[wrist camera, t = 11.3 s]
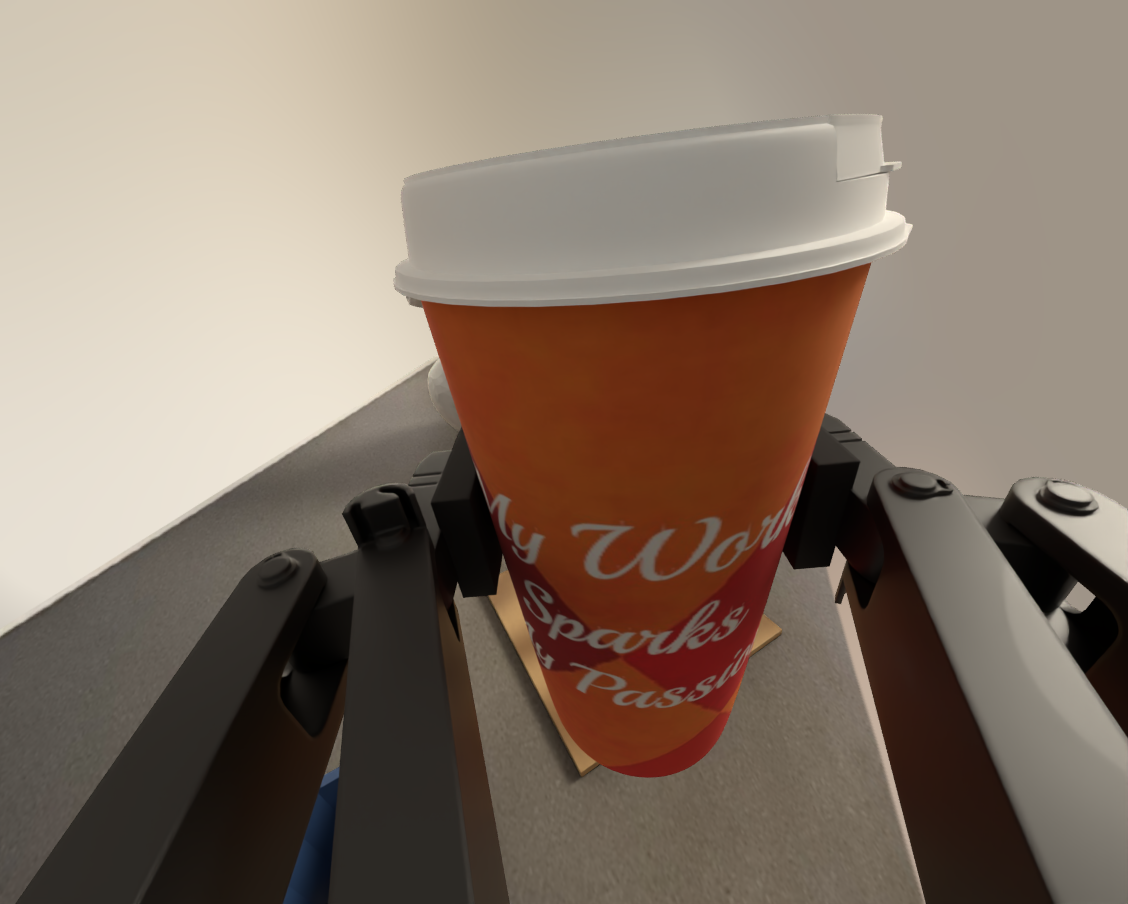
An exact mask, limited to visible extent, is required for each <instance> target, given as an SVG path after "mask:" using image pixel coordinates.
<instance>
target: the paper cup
mask: <svg viewBox="0 0 1128 904" xmlns="http://www.w3.org/2000/svg"><path fill="white" fill-rule="evenodd" d="M882 118H883V117H882V116H880V115H876V114H836V115H834V114H833V115H825V116H813V117H802V118H791V119H781V120H770V121H761V122H751V123H742V124H733V125H724V126H714V127H706V128H699V129H690V130H682V131H674V132H666V133H658V134H650V135H643V136H636V137H628V138H621V139H614V140H606V141H599V142H592V143H585V144H578V145H572V146H565V147H558V148H553V149H545V150H539V151H533V152H526V153H520V154H515V155H508V156H503V157H496V158H491V159H485V160H480V161H475V162H469V163H464V164H458V165H453V166H449V167H444V168H440V169H435V170H430V171H426V172H423V173H419V174H415V175H412V176H409V177H407V178H405V179H404V183H405V185H404V186H403V188H402V190H401V202H402V211H403V218H404V226H405V233H406V241H407V249H408V256H409V258H408V259H406V260H404V261H402V262H401V263H399V264H398V265H397V266H396V270H395V273H396V277H395V279H394V287H395V290H397V291H398V292H399V293H401V294H402V295H404V296H407V297H411V298H414V299H418V300H421V302H422V306H423V309H424V312H425V315H426V318H427V321H428V324H429V327H430V330H431V333H432V336H433V339H434V342H435V346H436V349H437V352H438V355H439V358H440V361H441V364H442V367H443V370H444V373H445V376H446V380H447V383H448V386H449V389H450V392H451V395H452V398H453V401H454V404H455V407H456V410H457V413H458V417H459V420H460V423H461V426H462V429H463V432H464V435H465V438H466V441H467V444H468V447H469V451H470V454H471V457H472V460H473V463H474V466H475V469H476V472H477V475H478V478H479V481H480V485H481V488H482V491H483V494H484V497H485V500H486V503H487V506H488V509H489V512H490V515H491V519H492V522H493V525H494V528H495V531H496V534H497V537H498V540H499V543H500V546H501V550H502V553H503V556H504V559H505V562H506V565H507V568H508V571H509V574H510V577H511V580H512V583H513V586H514V589H515V592H516V595H517V599H518V602H519V605H520V608H521V611H522V614H523V617H524V620H525V623H526V626H527V629H528V632H529V635H530V638H531V641H532V644H533V647H534V650H535V653H536V656H537V659H538V662H539V665H540V668H541V671H542V674H543V677H544V680H545V682H546V685H547V688H548V691H549V693H550V696H551V699H552V701H553V704H554V707H555V709H556V711H557V714H558V716H559V718H560V720H561V722H562V724H563V726H564V728H565V729H566V731H567V732H568V734H569V735H570V737H571V738H572V739H573V741H574V742H575V743H576V744H577V745H578V746H579V748H580V749H581V750H582V751H584V752H585V753H586V754H587V755H588V756H589V757H591V758H592V759H593V760H595V761H596V762H598V763H599V764H601V765H603V766H605V767H607V768H609V769H611V770H613V771H616V772H619V773H622V774H625V775H630V776H636V777H647V778H648V777H662V776H667V775H671V774H674V773H677V772H680V771H682V770H685V769H687V768H689V767H690V766H692V765H694V764H695V763H697V762H698V761H699V760H700V759H702V758H703V757H704V756H705V755H706V754H707V753H708V752H709V751H710V750H711V748H712V747H713V746H714V745H715V743H716V742H717V740H718V739H719V737H720V735H721V733H722V731H723V730H724V727H725V725H726V723H727V720H728V718H729V715H730V713H731V710H732V707H733V704H734V702H735V699H736V696H737V693H738V690H739V687H740V684H741V681H742V678H743V675H744V672H745V669H746V665H747V662H748V659H749V656H750V653H751V650H752V647H753V644H754V641H755V637H756V634H757V631H758V628H759V625H760V621H761V618H762V615H763V612H764V609H765V605H766V602H767V599H768V596H769V593H770V589H771V586H772V583H773V580H774V577H775V573H776V570H777V567H778V564H779V560H780V557H781V554H782V551H783V547H784V544H785V541H786V538H787V534H788V531H789V528H790V525H791V521H792V518H793V515H794V512H795V508H796V505H797V502H798V499H799V495H800V492H801V489H802V486H803V482H804V479H805V476H806V473H807V469H808V466H809V463H810V460H811V456H812V453H813V450H814V447H815V443H816V440H817V437H818V434H819V431H820V427H821V424H822V421H823V418H824V414H825V411H826V408H827V405H828V401H829V398H830V395H831V392H832V388H833V385H834V382H835V379H836V375H837V372H838V369H839V366H840V363H841V359H842V356H843V352H844V349H845V346H846V343H847V340H848V337H849V333H850V330H851V326H852V323H853V320H854V317H855V314H856V310H857V307H858V304H859V301H860V298H861V294H862V291H863V288H864V285H865V281H866V278H867V275H868V272H869V268H870V265H871V262H873V261H876V260H878V259H881V258H883V257H885V256H888V255H891V254H893V253H895V252H896V251H898V250H899V249H901V248H902V247H903V246H905V245H906V243H907V239H908V235H909V234H910V232H911V230H912V227H913V225H911V224H907V223H906V221H905V217H904V216H902V215H901V214H899V213H898V212H893V211H889V210H886V203H887V193H888V184H889V173H890V171H894V170H897V169H900V168H901V166H902V162H884V156H883V146H882V136H881V123H882Z"/></svg>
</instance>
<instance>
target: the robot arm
mask: <svg viewBox="0 0 1128 904" xmlns="http://www.w3.org/2000/svg"><path fill="white" fill-rule="evenodd" d="M342 515H343V517H344V519H345V521H346V523H347V525H348V527H349V529H350V531H351V533H352V535H353V537H354V539H355V541H356V543H357V545H358V550H355V551H353V552H350V553H347V554H344V555H341V556H338V557H334V558H331V559H328V560H325V561H322V562H319V561H318V559H317V557H316V556H315V554H314V552H313V551H311V550H309V549H307V548H291V549H288V550H284V551H280V552H278V553H275V554H273V555H271V556H269V557H267V558H265V559H264V560H262V561H261V562H259V563H258V564H257V565H255V566H254V567H252V568H251V569H250V570H249V572H248V573H247V574H246V575H245V576H244V577H243V578H242V579H241V581H240V582H239V584H238V585H237V587H236V588H235V589H234V591H233V592H232V594H231V595H230V597H229V598H228V599H227V601H226V602H225V604H224V605H223V607H222V608H221V609H220V611H219V612H218V614H217V615H216V617H215V618H214V620H213V621H212V622H211V624H210V625H209V627H208V628H207V630H206V631H205V632H204V634H203V635H202V637H201V638H200V640H199V641H198V642H197V644H196V645H195V647H194V648H193V650H192V651H191V653H190V654H189V655H188V657H187V658H186V660H185V661H184V663H183V664H182V665H181V667H180V668H179V670H178V671H177V673H176V674H175V675H174V677H173V678H172V680H171V681H170V683H169V684H168V686H167V687H166V688H165V690H164V691H163V693H162V694H161V696H160V697H159V698H158V700H157V701H156V703H155V704H154V706H153V707H152V708H151V710H150V711H149V713H148V714H147V716H146V717H145V719H144V720H143V721H142V723H141V724H140V726H139V727H138V729H137V730H136V731H135V733H134V734H133V736H132V737H131V739H130V740H129V741H128V743H127V744H126V746H125V747H124V749H123V750H122V752H121V753H120V754H119V756H118V757H117V759H116V760H115V762H114V763H113V764H112V766H111V767H110V769H109V770H108V772H107V773H106V774H105V776H104V777H103V779H102V780H101V782H100V783H99V785H98V786H97V787H96V789H95V790H94V792H93V793H92V795H91V796H90V797H89V799H88V800H87V802H86V803H85V805H84V806H83V807H82V809H81V810H80V812H79V813H78V815H77V816H76V818H75V819H74V820H73V822H72V823H71V825H70V826H69V828H68V829H67V830H66V832H65V833H64V835H63V836H62V838H61V839H60V841H59V842H58V843H57V845H56V846H55V848H54V849H53V851H52V852H51V853H50V855H49V856H48V858H47V859H46V861H45V862H44V863H43V865H42V866H41V868H40V869H39V871H38V872H37V874H36V875H35V876H34V878H33V879H32V881H31V882H30V884H29V885H28V886H27V888H26V889H25V891H24V892H23V894H22V895H21V896H20V898H19V899H18V901H17V902H16V904H283V902H284V899H285V896H286V893H287V889H288V886H289V883H290V880H291V877H292V874H293V871H294V868H295V864H296V861H297V858H298V855H299V852H300V849H301V846H302V843H303V840H304V836H305V833H306V830H307V827H308V824H309V821H310V818H311V815H312V811H313V808H314V805H315V802H316V799H317V796H318V793H319V790H320V786H321V783H322V780H323V777H324V774H325V771H326V768H327V765H328V762H329V758H330V755H331V752H332V749H333V746H334V743H335V740H336V737H337V733H338V730H339V727H340V724H341V721H342V718H343V715H344V720H343V732H342V744H341V756H340V767H339V779H338V791H337V803H336V815H335V826H334V838H333V850H332V862H331V874H330V885H329V897H328V904H510V902H509V897H508V891H507V885H506V880H505V874H504V868H503V863H502V857H501V852H500V846H499V840H498V835H497V829H496V823H495V818H494V812H493V806H492V801H491V795H490V789H489V784H488V778H487V772H486V767H485V761H484V756H483V750H482V744H481V739H480V733H479V727H478V722H477V716H476V710H475V705H474V699H473V693H472V688H471V682H470V676H469V671H468V665H467V659H466V654H465V648H464V643H463V637H462V631H461V626H460V620H459V614H458V610H457V607H456V605H455V602H454V599H453V597H454V594H455V590H456V586H457V582H458V584H459V587H460V590H461V592H462V595H463V598H465V597H477V596H489V595H496V594H497V587H498V581H499V574H500V568H501V561H502V554H503V553H502V550H501V546H500V543H499V540H498V537H497V534H496V531H495V528H494V525H493V522H492V519H491V515H490V512H489V509H488V506H487V503H486V500H485V497H484V494H483V491H482V488H481V485H480V481H479V478H478V475H477V472H476V469H475V466H474V463H473V460H472V457H471V454H470V451H469V447H468V444H467V441H466V438H465V435H464V432H463V429H462V426H461V428H460V431H459V433H458V436H457V438H456V441H455V443H454V446H453V448H452V450H446V451H437V452H431V453H430V454H429V455H428V456H427V457H425V458H424V459H423V460H422V461H421V462H420V463H419V464H418V466H417V468H416V470H415V472H414V474H413V478H411V480H410V482H409V484H408V485H406V484H404V483H388V484H383V485H378V486H376V487H373V488H370V489H368V490H366V491H364V492H362V493H361V494H359V495H357V496H356V497H354V498H353V499H352V500H351V501H350V502H349V503H348V504H347V505H346V507H345V509H344V511H343V513H342ZM835 546H836V547H837V548H838V549H839V550H840V551H841V553H842V554H843V556H844V557H845V558H846V559H847V561H846V564H845V567H844V570H843V573H842V576H841V579H840V583H839V586H838V589H837V592H836V595H835V603H838V604H841V602H842V599H843V596H844V594H845V593H847V596H848V600H849V604H850V608H851V612H852V616H853V620H854V624H855V627H856V632H857V636H858V640H859V643H860V647H861V651H862V655H863V659H864V663H865V666H866V670H867V675H868V679H869V682H870V687H871V690H872V694H873V698H874V702H875V706H876V710H877V714H878V718H879V721H880V726H881V730H882V734H883V737H884V741H885V745H886V749H887V753H888V757H889V761H890V765H891V769H892V773H893V776H894V780H895V784H896V788H897V792H898V796H899V800H900V804H901V808H902V812H903V815H904V820H905V824H906V827H907V831H908V835H909V839H910V843H911V847H912V851H913V855H914V859H915V863H916V867H917V871H918V875H919V878H920V882H921V886H922V890H923V894H924V898H925V902H926V904H1128V509H1127V508H1125V507H1123V506H1122V505H1120V504H1119V503H1117V502H1115V501H1114V500H1112V499H1111V498H1109V497H1107V496H1105V495H1103V494H1101V493H1099V492H1097V491H1095V490H1093V489H1090V488H1087V487H1084V486H1081V485H1079V484H1077V483H1074V482H1071V481H1067V480H1064V481H1062V480H1061V479H1056V478H1039V477H1032V478H1025V479H1020V480H1018V481H1017V482H1016V483H1014V484H1013V485H1012V487H1011V489H1010V491H1009V493H1008V495H1007V497H1006V498H1005V499H1002V498H991V497H981V496H970V495H962V494H961V492H960V491H959V490H958V489H957V488H956V487H955V486H954V485H953V484H952V483H951V482H949V481H948V480H946V479H944V478H942V477H940V476H938V475H936V474H933V473H929V472H926V471H924V470H920V469H913V468H907V467H895V466H894V465H893V464H892V463H891V462H889V461H888V460H887V459H886V458H885V457H883V456H882V455H881V454H880V453H879V452H877V451H876V450H875V449H874V448H873V447H871V446H870V445H869V444H868V443H867V442H865V441H862V438H860V437H859V436H858V435H857V434H856V433H855V432H851V429H850V428H849V427H847V426H846V425H845V424H844V423H842V422H841V421H840V420H839V419H837V418H835V417H832V416H830V415H828V414H826V413H825V414H824V418H823V421H822V424H821V427H820V431H819V434H818V437H817V440H816V443H815V447H814V450H813V453H812V456H811V460H810V463H809V466H808V469H807V473H806V476H805V479H804V482H803V486H802V489H801V492H800V495H799V499H798V502H797V505H796V508H795V512H794V515H793V518H792V521H791V525H790V528H789V531H788V534H787V538H786V541H785V544H784V547H783V552H784V554H785V556H786V557H787V559H788V561H789V562H790V564H791V565H792V567H793V569H804V568H816V567H827V566H830V563H831V559H832V556H833V553H834V549H835ZM1077 582H1080V583H1081V584H1082V585H1083V586H1084V587H1086V588H1087V589H1088V590H1089V591H1090V592H1091V593H1093V594H1094V595H1095V596H1096V597H1095V598H1094V600H1093V601H1092V602H1091V604H1090V605H1089V606H1088V607H1087V609H1086V610H1084V611H1083V612H1081V611H1078V610H1077V609H1076V608H1074V607H1073V606H1071V605H1070V604H1069V603H1068V602H1067V601H1066V600H1065V598H1066V597H1067V596H1068V594H1069V593H1070V592H1071V590H1072V589H1073V588H1074V586H1075V585H1076V584H1077Z"/></svg>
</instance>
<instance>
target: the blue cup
mask: <svg viewBox="0 0 1128 904" xmlns="http://www.w3.org/2000/svg"><path fill="white" fill-rule="evenodd" d="M338 779H339V767H338V768H336V769H334V770H333V771H331V772H329V773H327V774H326V775H324V777H323V780H322V783H321V786H320V790H319V793H318V796H317V799H316V802H315V805H314V808H313V811H312V815H311V818H310V821H309V824H308V827H307V830H306V833H305V836H304V840H303V843H302V846H301V849H300V852H299V855H298V858H297V861H296V864H295V868H294V871H293V874H292V877H291V880H290V883H289V886H288V889H287V893H286V896H285V899H284V902H283V904H328V897H329V885H330V874H331V862H332V850H333V838H334V826H335V815H336V803H337V791H338Z"/></svg>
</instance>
